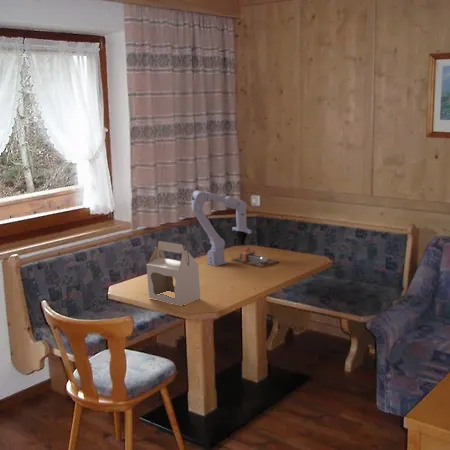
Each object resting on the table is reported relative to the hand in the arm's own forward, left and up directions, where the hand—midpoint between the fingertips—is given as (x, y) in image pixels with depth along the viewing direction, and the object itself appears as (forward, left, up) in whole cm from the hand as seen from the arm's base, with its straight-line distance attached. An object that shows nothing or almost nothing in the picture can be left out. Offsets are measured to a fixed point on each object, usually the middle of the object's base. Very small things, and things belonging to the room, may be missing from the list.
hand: (242, 244), depth 375 cm
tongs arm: (+1, -8, -8) cm, 11 cm away
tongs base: (0, -10, -8) cm, 13 cm away
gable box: (-69, -28, -10) cm, 76 cm away
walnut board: (+2, -8, -9) cm, 13 cm away
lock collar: (0, -5, -8) cm, 9 cm away
